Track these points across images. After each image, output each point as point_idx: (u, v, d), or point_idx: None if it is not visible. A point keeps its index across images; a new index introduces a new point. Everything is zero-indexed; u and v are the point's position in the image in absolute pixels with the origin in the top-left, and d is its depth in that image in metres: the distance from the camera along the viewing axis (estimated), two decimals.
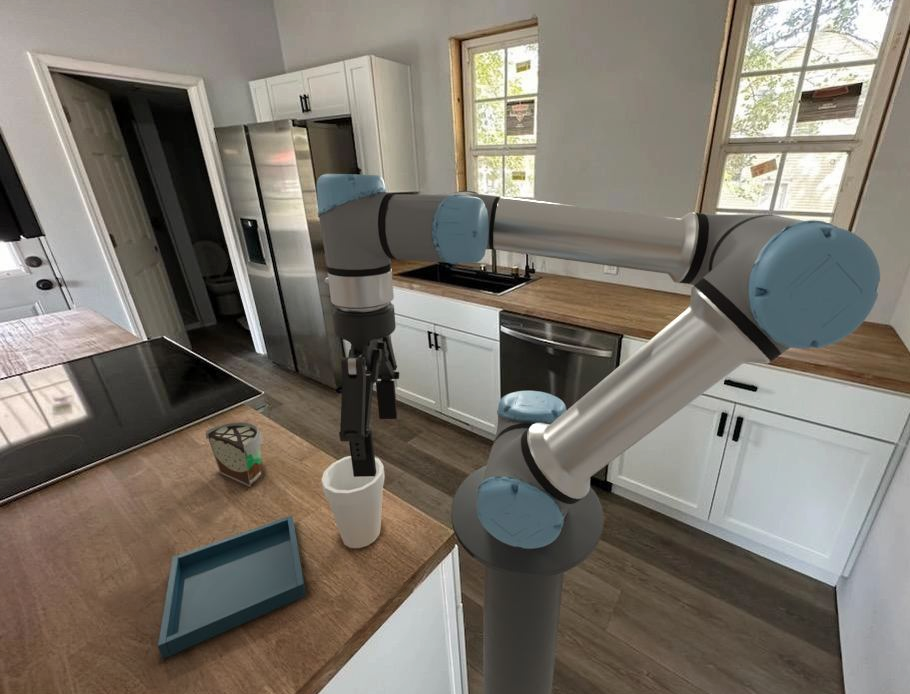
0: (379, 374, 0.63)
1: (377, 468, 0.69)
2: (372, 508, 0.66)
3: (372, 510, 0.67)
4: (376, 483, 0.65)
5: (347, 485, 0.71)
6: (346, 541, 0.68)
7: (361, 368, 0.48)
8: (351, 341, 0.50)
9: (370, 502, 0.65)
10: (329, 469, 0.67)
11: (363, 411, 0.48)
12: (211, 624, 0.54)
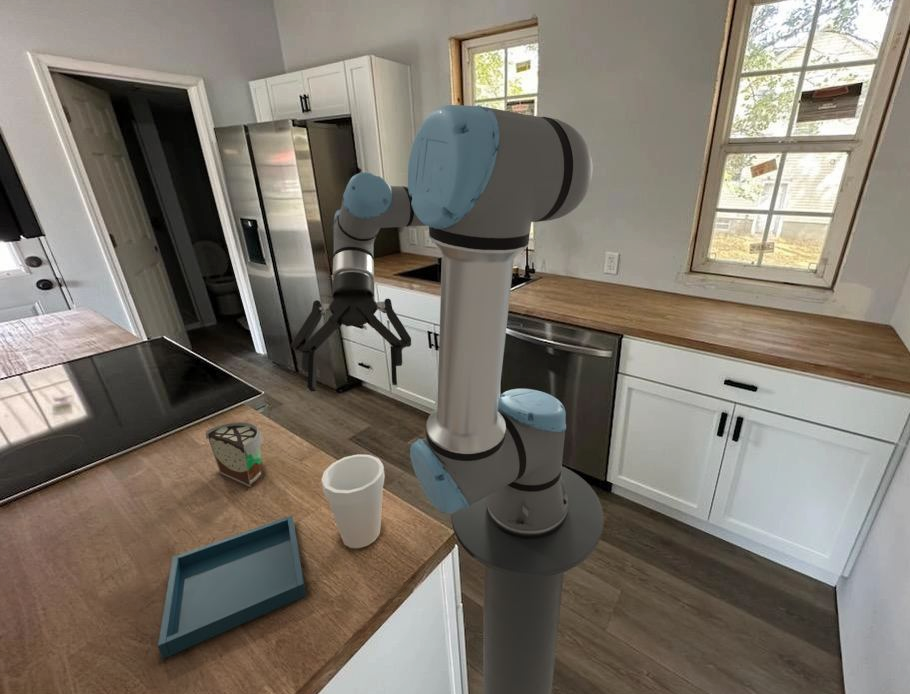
0: (389, 342, 0.77)
1: (377, 468, 0.69)
2: (372, 508, 0.66)
3: (372, 510, 0.67)
4: (376, 483, 0.65)
5: (347, 485, 0.71)
6: (346, 541, 0.68)
7: None
8: None
9: (370, 502, 0.65)
10: (329, 469, 0.67)
11: (303, 331, 0.72)
12: (211, 624, 0.54)
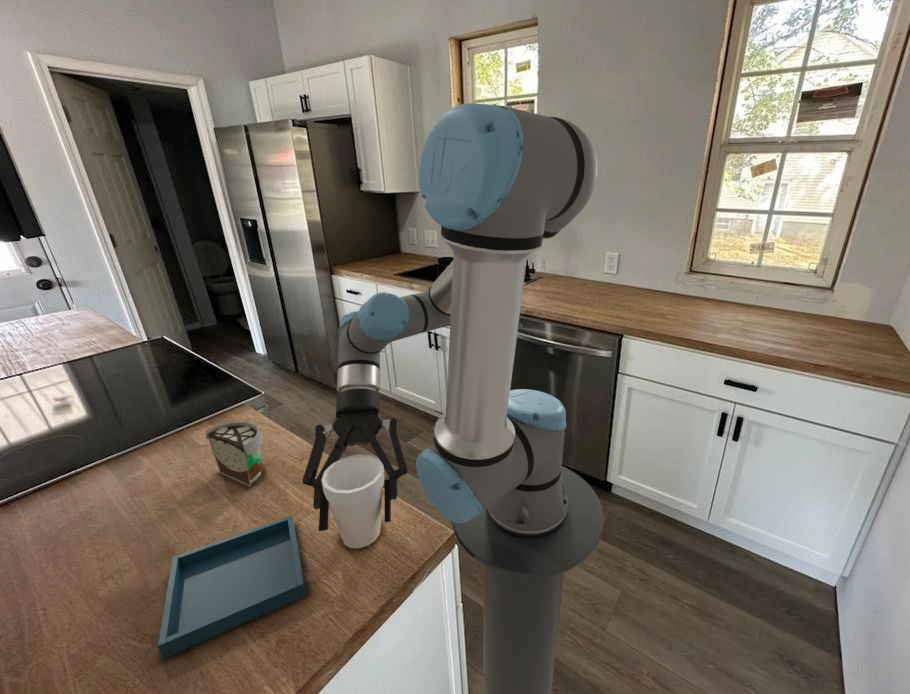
0: None
1: (377, 468, 0.69)
2: (372, 508, 0.66)
3: (372, 510, 0.67)
4: (376, 483, 0.65)
5: (347, 485, 0.71)
6: (346, 541, 0.68)
7: (315, 431, 0.71)
8: None
9: (370, 502, 0.65)
10: (329, 469, 0.67)
11: (311, 462, 0.68)
12: (211, 624, 0.54)
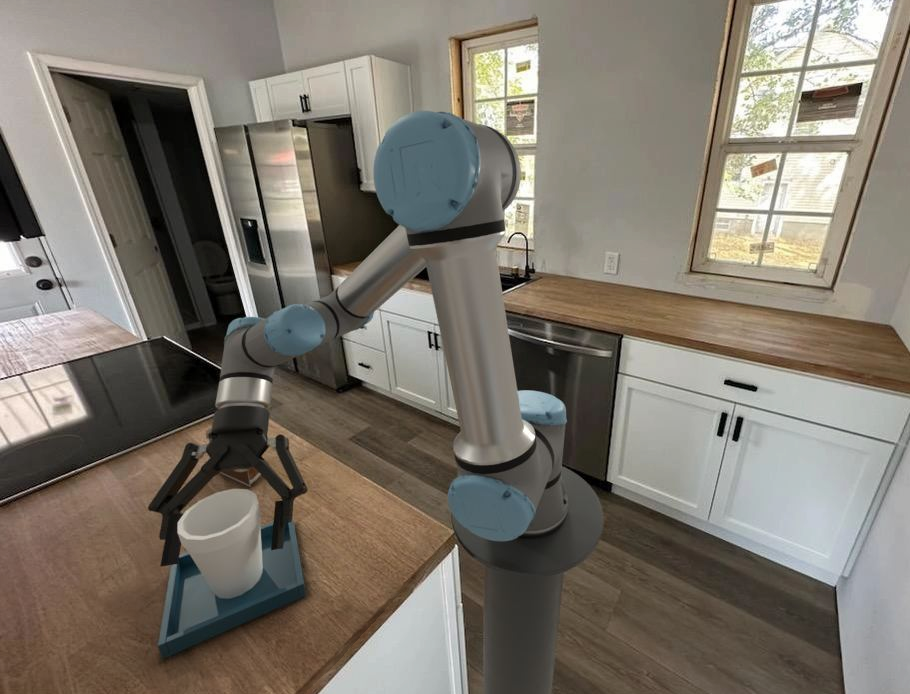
0: None
1: None
2: (240, 554, 0.57)
3: (241, 556, 0.57)
4: (242, 526, 0.56)
5: (221, 524, 0.62)
6: (214, 591, 0.59)
7: (184, 450, 0.62)
8: None
9: (236, 548, 0.56)
10: (192, 508, 0.58)
11: (166, 486, 0.59)
12: (211, 624, 0.54)
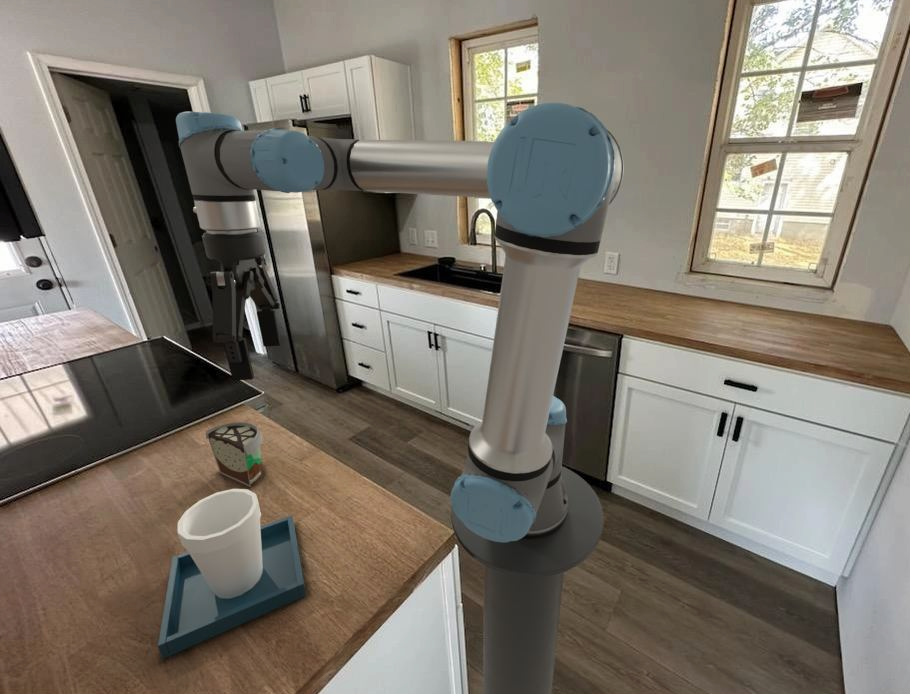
0: (259, 303, 0.71)
1: None
2: (240, 554, 0.57)
3: (241, 556, 0.57)
4: (242, 526, 0.56)
5: (221, 524, 0.62)
6: (214, 591, 0.59)
7: (229, 280, 0.57)
8: (220, 260, 0.59)
9: (236, 548, 0.56)
10: (192, 508, 0.58)
11: (233, 316, 0.58)
12: (211, 624, 0.54)
